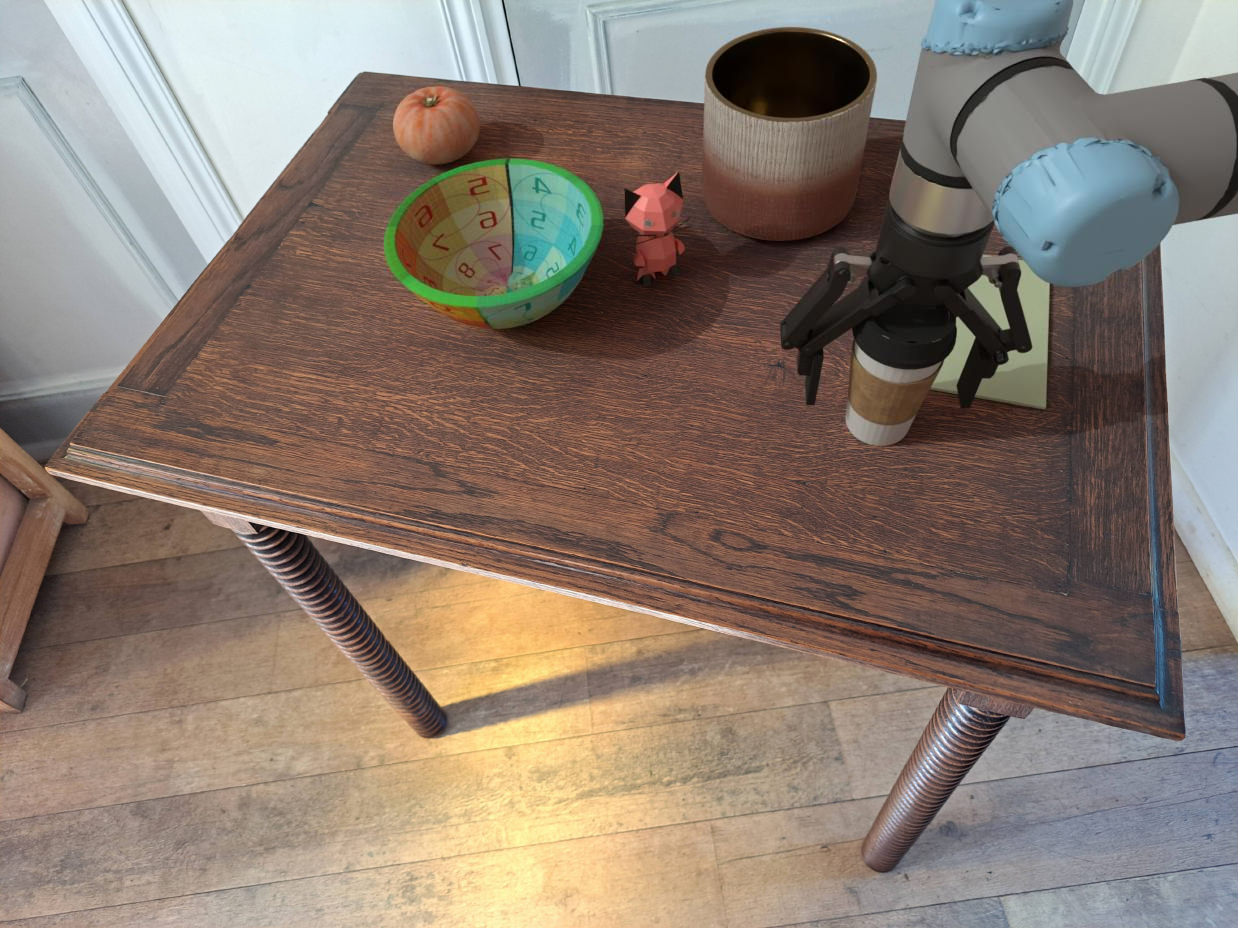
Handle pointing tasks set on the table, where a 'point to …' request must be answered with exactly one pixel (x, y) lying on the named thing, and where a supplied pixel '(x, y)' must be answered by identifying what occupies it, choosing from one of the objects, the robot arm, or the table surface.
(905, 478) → the table surface
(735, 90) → the planter
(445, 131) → the pumpkin
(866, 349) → the coffee cup
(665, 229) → the cat figurine
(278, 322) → the table surface
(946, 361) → the sage mat
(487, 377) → the table surface
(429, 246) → the bowl
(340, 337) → the table surface
